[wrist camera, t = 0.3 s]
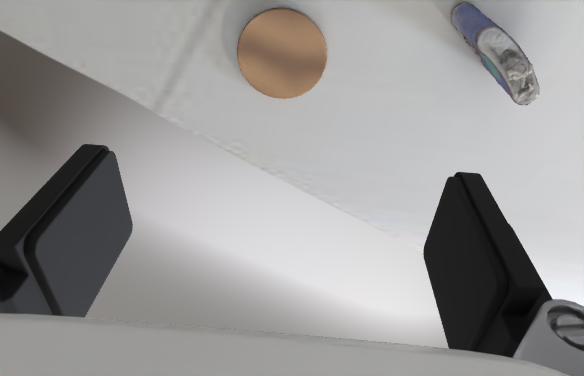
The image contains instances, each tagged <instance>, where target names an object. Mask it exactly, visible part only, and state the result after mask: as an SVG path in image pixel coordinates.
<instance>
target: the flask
mask: <svg viewBox="0 0 584 376" xmlns="http://www.w3.org/2000/svg"><path fill="white" fill-rule="evenodd" d="M451 20H452V22H453V24H454V25H455V27H456V29H459V30H460V31H461V32H462V34H463V36H464V39H465V40H466V43H468V44H469V45H470V46H472V47H473V48H475V49H476V53H475V54H478V55H479V56H480V57H481V62H482V63H483V65H484V67H485V68H486V70H488V71H489V72H490V74H491V75H492V76H493V77H494V78H495V79H496V81H497V82H498V84H500V85H501V86H502V87H503V89H504V90H505V91H506V92H507V93H508V94H509V95H510V97H511V98H512V100H513V101H514V102H515V103H517V104H519V105H528V104H529V103H531V102H532V101H534V100H535V99H536V98H537V96H538V95H539V84H538V82H537V78H536V76H535V73H534V70H533V66H532V64H531V63H530V62H529V60H528V58H527V57H526V55H525V54H524V52H523V51H522V49H521V48H520V46H519V45H518V44H517V43H516V42H515V41H514V40H513V38H512V37H511V36H509V35H508V34H507V33H506V32H505V31H504V30H503V29H502V28H500V27H499V26H498V25H496V24H495V23H494V22H493V21H492V20H490V19H489V18H487V17H486V16H485V15H483V14H482V13H481V12H480V10H478V9H477V8H476V7H475V6H474V5H472V4H469V3H461V4H459V5H458V6H456V7H455V8H454V10H453V11H452V12H451Z"/></svg>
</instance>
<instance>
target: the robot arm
mask: <svg viewBox="0 0 584 376" xmlns="http://www.w3.org/2000/svg"><path fill="white" fill-rule="evenodd" d="M131 233H132V220H131V216H130V212H129V207H128V203H127V199H126V195H125V191H124V187H123V183H122V180H121V175H120V171H119V167H118V163H117V159H116V156H115V153H114V152H113V151H109V149H108V147H106V146H104V145H91V144H84V145H82V146H81V147H80V148H79V149H78V150H77V151H76V152H75V153H74V154H73V155H72V156H71V157H70V159H69V160H68V161H67V162H66V163H65V164H64V165H63V166H62V167H61V168H60V169H59V170H58V171H57V172H56V173H55V174H54V175H53V176H52V177H51V178H50V180H49V181H48V182H47V183H46V184H45V185H44V186H43V187H42V188H41V189H40V190H39V191H38V192H37V193H36V194H35V195H34V196H33V198H31V200H30V201H29V202H28V203H27V204H26V205H25V206H24V207H23V208H22V209H21V210H20V211H19V212H18V213H17V214H16V215H15V216H14V218H12V220H11V221H10V222H9V223H8V224H7V225H6V226H5V227H4V228H3V229H2V230H1V231H0V376H584V306H581V305H579V304H577V303H575V302H571V301H567V300H555V299H552V297H551V296H550V294H549V292H548V290H547V289H546V287H545V285H544V283H543V281H542V280H541V278H540V276H539V274H538V273H537V271H536V269H535V267H534V266H533V264H532V262H531V260H530V258H529V257H528V255H527V253H526V251H525V250H524V248H523V246H522V244H521V243H520V241H519V239H518V237H517V235H516V234H515V232H514V230H513V228H512V227H511V226H510V225H509V224H508V223H507V221H506V219H505V217H504V216H503V214H502V212H501V210H500V208H499V207H498V205H497V203H496V201H495V199H494V198H493V196H492V194H491V192H490V191H489V189H488V187H487V185H486V183H485V182H484V180H483V178H482V176H481V175H480V174H478V173H465V172H457V173H456V174H455V175H454V177H449V178H448V179H447V181H446V184H445V187H444V190H443V193H442V196H441V199H440V202H439V205H438V207H437V210H436V213H435V216H434V219H433V222H432V225H431V228H430V231H429V234H428V237H427V240H426V243H425V246H424V260H425V264H426V267H427V271H428V274H429V278H430V282H431V285H432V289H433V293H434V296H435V299H436V303H437V307H438V310H439V314H440V318H441V321H442V325H443V328H444V332H445V335H446V339H447V343H448V347H449V349H447V348H437V347H428V346H418V345H408V344H398V343H387V342H376V341H364V340H353V339H341V338H329V337H319V336H308V335H295V334H285V333H273V332H261V331H249V330H236V329H225V328H213V327H212V328H211V327H200V326H188V325H176V324H163V323H149V322H137V321H124V320H112V319H99V318H85V316H86V314H87V312H88V310H89V308H90V307H91V305H92V303H93V301H94V300H95V298H96V296H97V294H98V292H99V291H100V289H101V287H102V285H103V284H104V282H105V280H106V278H107V276H108V275H109V273H110V271H111V269H112V267H113V266H114V264H115V262H116V260H117V258H118V257H119V255H120V253H121V251H122V250H123V248H124V246H125V244H126V242H127V241H128V239H129V237H130V235H131Z"/></svg>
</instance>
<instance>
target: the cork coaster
mask: <svg viewBox="0 0 584 376" xmlns="http://www.w3.org/2000/svg"><path fill="white" fill-rule="evenodd" d="M237 55H238V62H239V66H240V69H241V71H242V73H243V75H244V77H245V78H246V80H247V81H248V82H249V84H250V85H252V86H253V87H254V88H255V89H256V90H258V91H259V92H261V93H262V94H265V95H267V96H270V97H273V98H279V99H288V98H294V97H297V96H300V95H302V94H304V93H306V92H308V91H309V90H310V89H312V88H313V87H314V86H315V85H316V84H317V82H318V81H319V80H320V78H321V76H322V74H323V72H324V69H325V66H326V60H327V50H326V44H325V40H324V37H323V35H322V33H321V31H320V30H319V28H318V27H317V25H316V24H315V23H314V22H313V21H312V20H311V19H310V18H309V17H307V16H306V15H304V14H302V13H300V12H298V11H295V10H292V9H287V8H275V9H270V10H266V11H264V12H262V13H260V14H258V15H256V16H255V17H254V18H253V19H252V20H251V21H250V22H249V23H248V24H247V25H246V27H245V28H244V30H243V32H242V34H241V36H240V39H239V42H238V49H237Z"/></svg>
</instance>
